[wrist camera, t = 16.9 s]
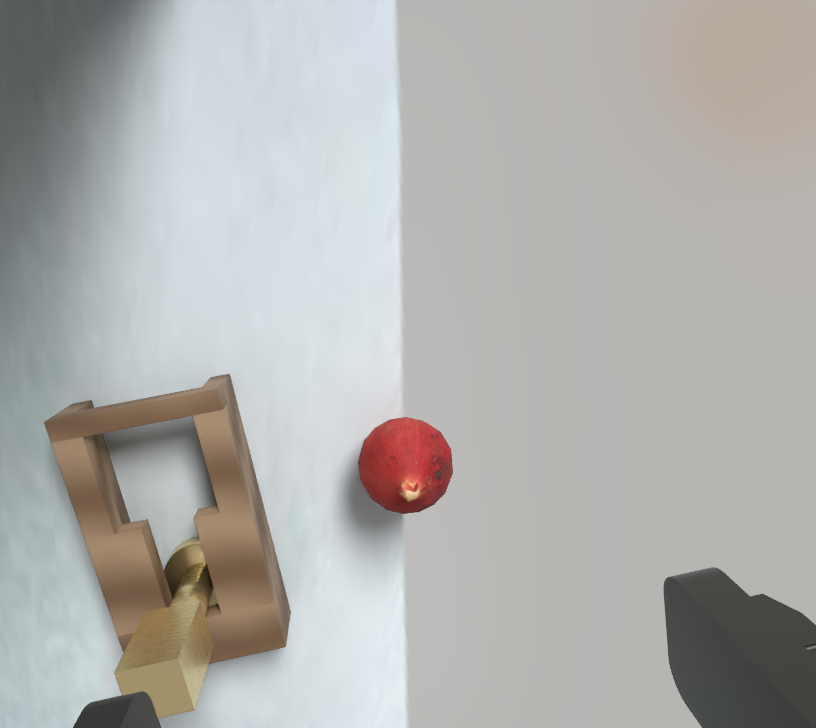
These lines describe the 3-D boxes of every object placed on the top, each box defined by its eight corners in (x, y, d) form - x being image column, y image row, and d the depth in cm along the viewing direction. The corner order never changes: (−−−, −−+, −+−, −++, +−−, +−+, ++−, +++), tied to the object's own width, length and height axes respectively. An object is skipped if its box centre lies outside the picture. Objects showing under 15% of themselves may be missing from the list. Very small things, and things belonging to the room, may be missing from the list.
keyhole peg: (160, 544, 40) (92, 663, 29) (230, 529, 40) (189, 641, 29) (178, 605, 41) (120, 740, 30) (247, 589, 41) (213, 718, 31)
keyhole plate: (72, 404, 37) (44, 422, 34) (229, 373, 38) (217, 388, 34) (150, 642, 42) (132, 680, 38) (290, 612, 42) (285, 646, 39)
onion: (438, 397, 40) (460, 439, 32) (446, 476, 41) (469, 534, 33) (352, 409, 39) (354, 453, 32) (363, 487, 41) (367, 549, 33)
